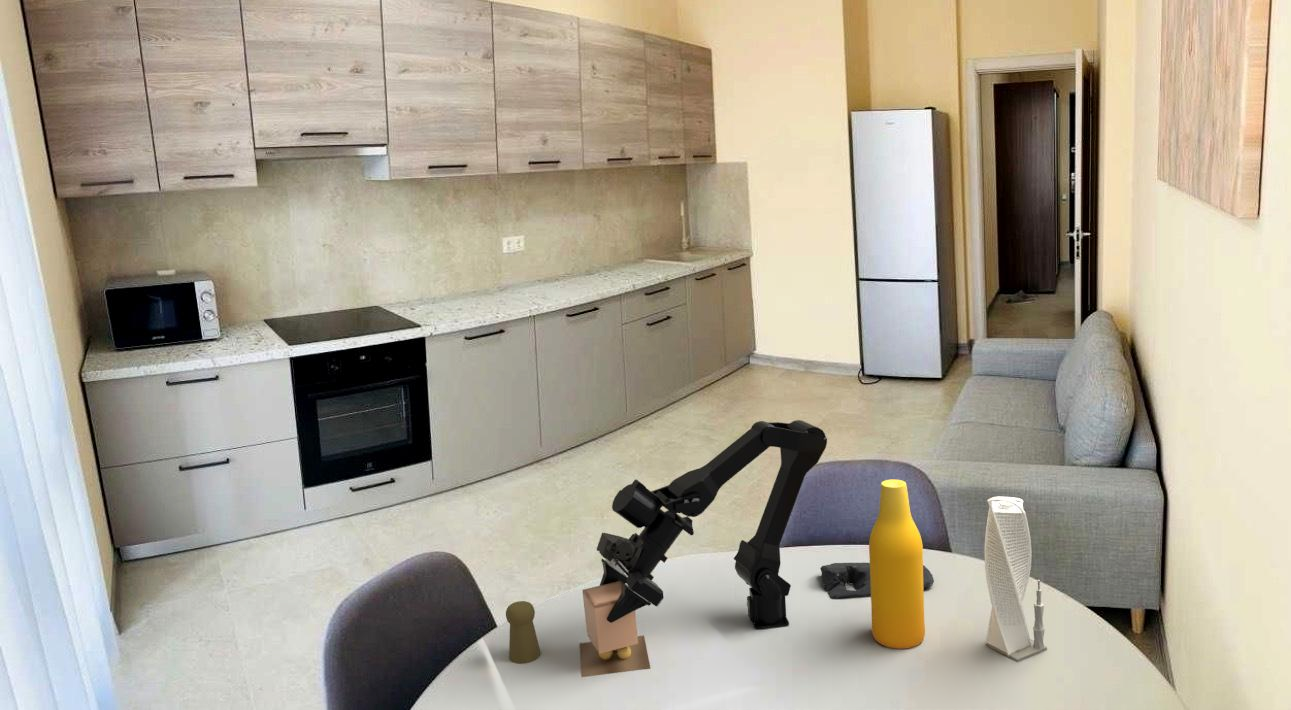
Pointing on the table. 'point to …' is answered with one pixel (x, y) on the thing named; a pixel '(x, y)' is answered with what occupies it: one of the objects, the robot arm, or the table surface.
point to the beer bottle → (896, 571)
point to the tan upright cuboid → (596, 614)
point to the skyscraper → (1010, 580)
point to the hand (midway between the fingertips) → (602, 612)
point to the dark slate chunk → (855, 579)
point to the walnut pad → (613, 660)
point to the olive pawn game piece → (522, 633)
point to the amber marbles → (621, 652)
